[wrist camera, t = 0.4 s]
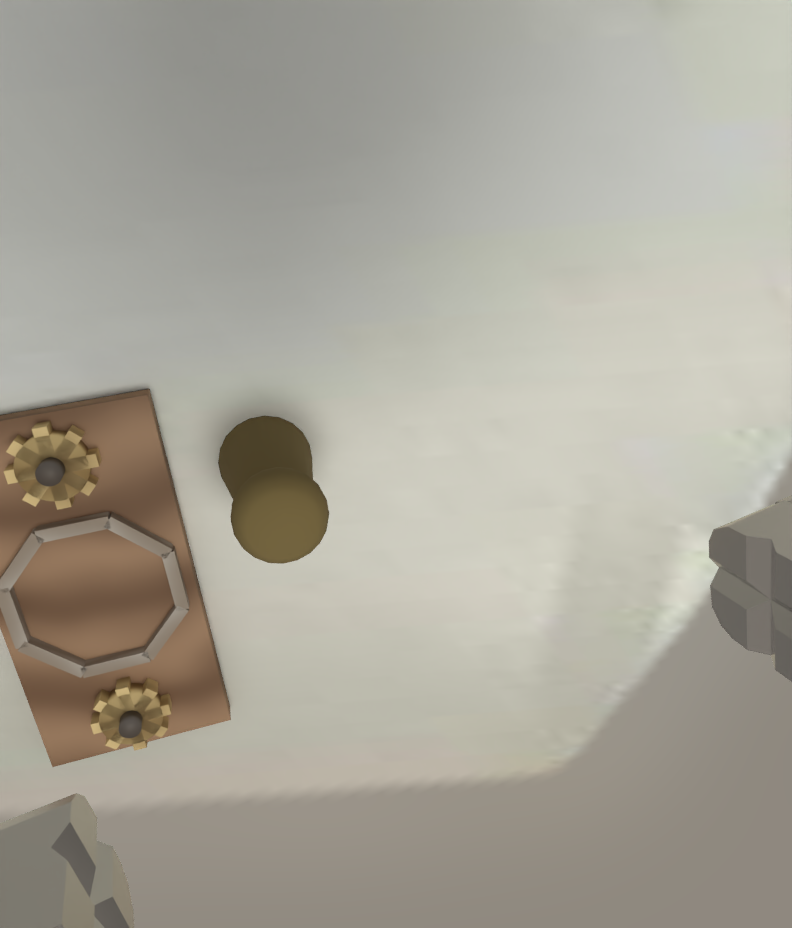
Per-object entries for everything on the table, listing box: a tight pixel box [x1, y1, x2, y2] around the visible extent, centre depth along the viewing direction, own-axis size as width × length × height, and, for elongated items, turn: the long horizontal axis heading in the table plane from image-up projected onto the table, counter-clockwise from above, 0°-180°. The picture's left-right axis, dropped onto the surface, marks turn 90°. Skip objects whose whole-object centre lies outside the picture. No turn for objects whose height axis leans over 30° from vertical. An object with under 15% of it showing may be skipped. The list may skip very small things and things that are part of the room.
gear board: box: [0, 389, 231, 767], centre depth 46 cm, size 24×12×4 cm, turn 7°
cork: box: [218, 416, 329, 563], centre depth 43 cm, size 6×6×11 cm
